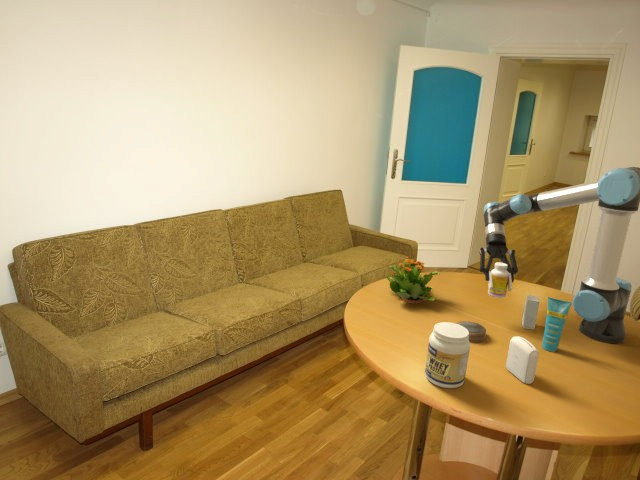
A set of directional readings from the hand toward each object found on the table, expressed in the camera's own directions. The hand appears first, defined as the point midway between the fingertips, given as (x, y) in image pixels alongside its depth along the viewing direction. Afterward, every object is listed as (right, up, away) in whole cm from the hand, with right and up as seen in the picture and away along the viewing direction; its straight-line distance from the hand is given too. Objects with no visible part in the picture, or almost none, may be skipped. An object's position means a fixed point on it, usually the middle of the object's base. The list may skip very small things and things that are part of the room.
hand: (500, 288), depth 177 cm
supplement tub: (-31, -25, -33) cm, 51 cm away
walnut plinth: (-13, -17, -4) cm, 22 cm away
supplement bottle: (0, -3, +5) cm, 6 cm away
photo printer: (-6, -25, -29) cm, 39 cm away
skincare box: (+13, -16, +6) cm, 21 cm away
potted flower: (-29, -8, +26) cm, 40 cm away
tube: (+13, -20, -11) cm, 27 cm away
